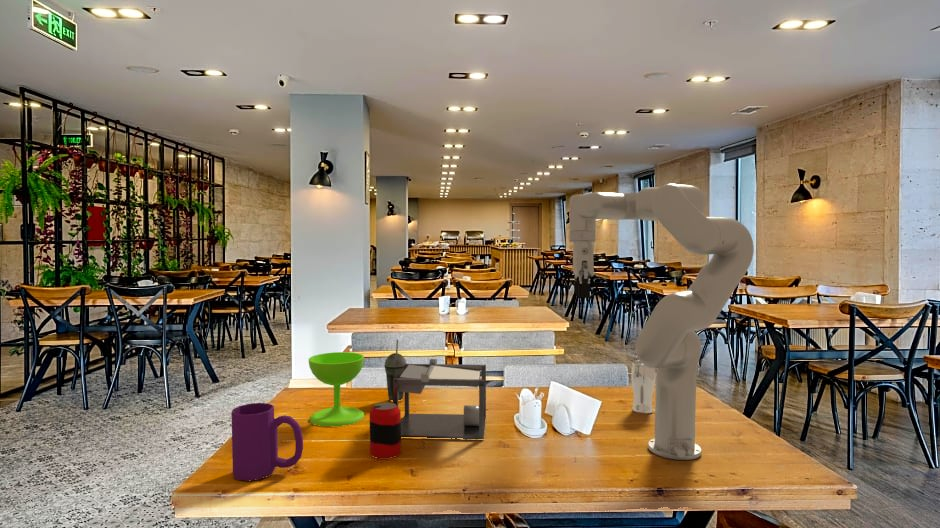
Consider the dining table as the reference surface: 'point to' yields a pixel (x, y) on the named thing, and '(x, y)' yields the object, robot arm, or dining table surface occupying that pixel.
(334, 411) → the wineglass
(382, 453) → the soda can
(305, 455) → the dining table surface
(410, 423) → the frame
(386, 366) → the beverage cup
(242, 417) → the mug
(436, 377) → the trapdoor
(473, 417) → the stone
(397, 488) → the dining table surface
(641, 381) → the beer glass
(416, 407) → the dining table surface
